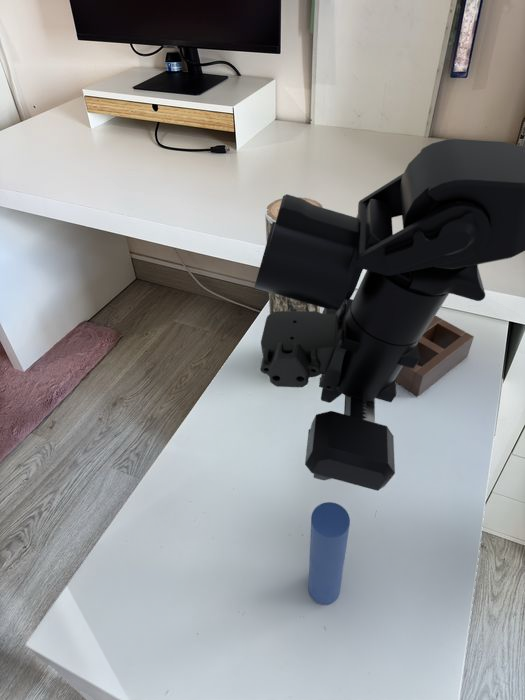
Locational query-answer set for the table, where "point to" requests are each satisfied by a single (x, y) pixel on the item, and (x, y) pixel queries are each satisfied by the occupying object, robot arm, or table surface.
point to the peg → (327, 551)
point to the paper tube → (276, 300)
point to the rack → (435, 355)
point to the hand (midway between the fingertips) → (322, 436)
